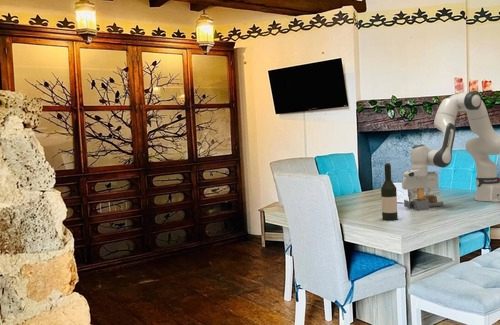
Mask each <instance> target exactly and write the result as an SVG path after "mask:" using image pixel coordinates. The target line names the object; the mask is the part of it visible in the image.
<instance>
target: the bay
mask: <svg viewBox="0 0 500 325" xmlns="http://www.w3.org/2000/svg"><path fill="white" fill-rule="evenodd" d="M403 205H404V206H405V207H406V208H409V209H413V200H407V199H404V200H403ZM444 206H445V205H444V202H443V201H437V202H431V203H429V208H431V207H432V208H434V207H436V208H437V207H444Z"/></svg>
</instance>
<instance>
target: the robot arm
mask: <svg viewBox="0 0 500 325" xmlns="http://www.w3.org/2000/svg"><path fill="white" fill-rule="evenodd" d="M458 112H466V116H467V120H468V123H469V124H468V125H469V127H470V131H471V132H472V133H474V134H475V135H477V136H478V137H472V138H468V139H467V141H466V142H465V145H464V146H465V150H466V152H467V153H468V154H469V155H470V156H471V157H472V159H473V160H474V163H475V170H476V177H475V186H476V191H475V196H474V200H475V201H477V202H492V203H499V202H500V177H498V169H497V168H498V166H497V163H496V162H494V161H493V160H492V159H491V158H490V156H498V155H500V134H498V133H497V132H496V131H495V129H494V127H493V125H492V123H491V120H490V116H489V113H488V110H487V107H486V104H485V102H484V101H483V100H482V97H481V95H480V94H479V93H478V92H475V91H474V92H473V91H465V92H459V93H453V94H450V95H448V96H447V97H446V98H444V99H443V100H442V101H441V102H440V104H439V106H438V108H437V111H436V114H435V116H434V119H433V120H434V122H433V124H434V126H435V127H436V128H435V129H437V130H439V131H440V132H442V140H441V145H440V147H439V149H432V148H430V147H428V146H426V145H425V144H416V145H414V146H412V147H411V150H410V162H411V166H410V168H411V169H410V170H407V171H405V172H403V173H402V175H403V177H402V179H401V188H402V189H403V190H409V192H410V194H411V197H412V198H413V197H414V198H415V197H416V193H414V190H417V189H422V188H424V189H427V192H425V196H429V195H430V193H431V192H432V189H434V188H435V189H437V188H438V187H439V179H438V178H439V176H438V173H437V172H436V171H429V170H428V167H429V166H431V167H438V168H442V169H443V168H446V167H448V166H450V164H451V163H452V159H453V155H452V154H453V147H454V141H455V137H456V133H457V131H456V125H455V123H456V119H457V116H458Z"/></svg>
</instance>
